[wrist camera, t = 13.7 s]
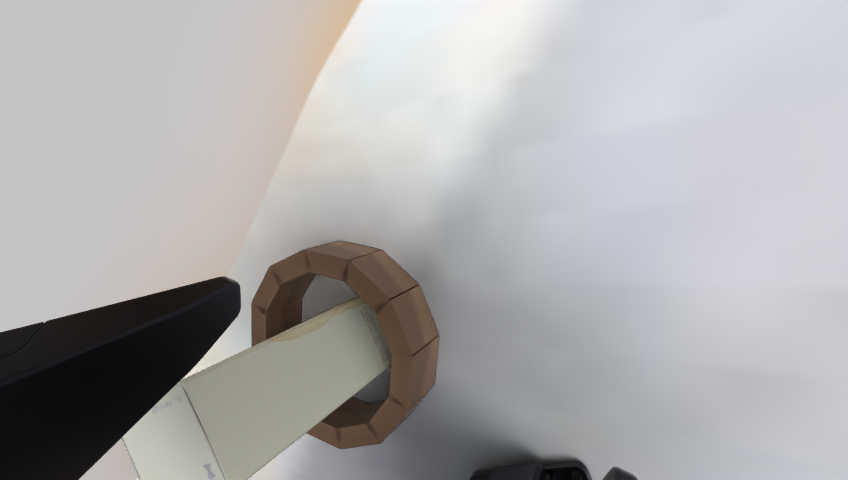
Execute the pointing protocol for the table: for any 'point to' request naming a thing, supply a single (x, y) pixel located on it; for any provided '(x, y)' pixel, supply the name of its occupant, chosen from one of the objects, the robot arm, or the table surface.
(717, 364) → the table surface
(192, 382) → the skincare box
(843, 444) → the table surface
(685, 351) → the table surface
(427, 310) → the walnut ring
